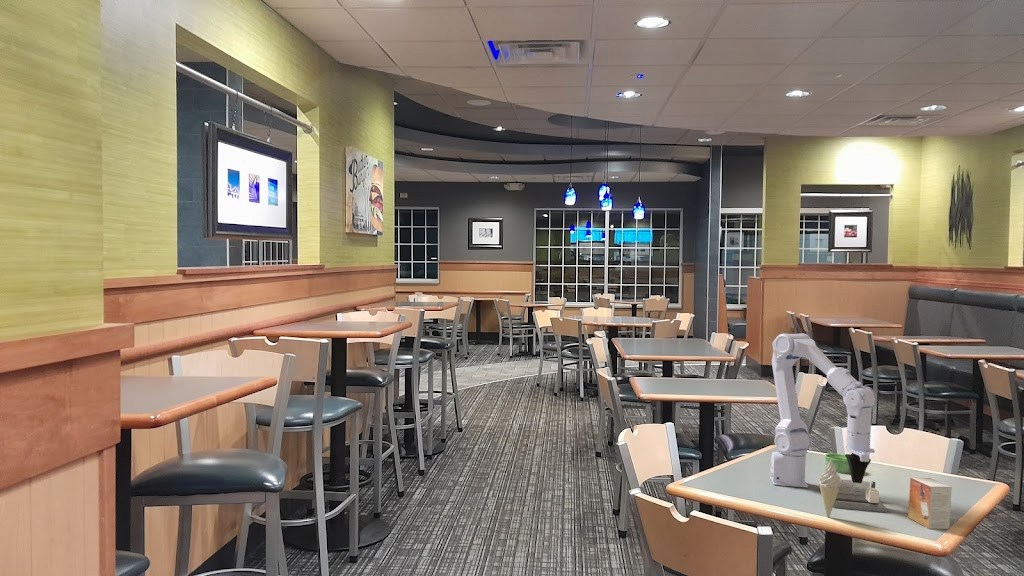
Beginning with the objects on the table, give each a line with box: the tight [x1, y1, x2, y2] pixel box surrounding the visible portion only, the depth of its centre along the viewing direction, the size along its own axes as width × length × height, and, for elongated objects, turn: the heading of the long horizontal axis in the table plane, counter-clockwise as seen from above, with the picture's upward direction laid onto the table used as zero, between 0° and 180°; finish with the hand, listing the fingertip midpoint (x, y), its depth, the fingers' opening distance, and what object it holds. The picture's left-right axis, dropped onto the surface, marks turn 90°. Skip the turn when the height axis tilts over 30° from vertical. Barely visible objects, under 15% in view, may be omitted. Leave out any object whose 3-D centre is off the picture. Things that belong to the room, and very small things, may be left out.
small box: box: [907, 477, 953, 530], centre depth 179 cm, size 8×6×10 cm
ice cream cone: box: [818, 458, 841, 518], centre depth 181 cm, size 5×5×15 cm
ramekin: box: [824, 453, 851, 474], centre depth 229 cm, size 9×9×4 cm
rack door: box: [838, 478, 871, 494], centre depth 198 cm, size 10×1×3 cm, turn 78°
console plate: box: [818, 481, 888, 513], centre depth 196 cm, size 13×18×6 cm
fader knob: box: [866, 487, 880, 503], centre depth 191 cm, size 2×4×3 cm, turn 168°
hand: (856, 482), depth 193 cm, fingers closed
